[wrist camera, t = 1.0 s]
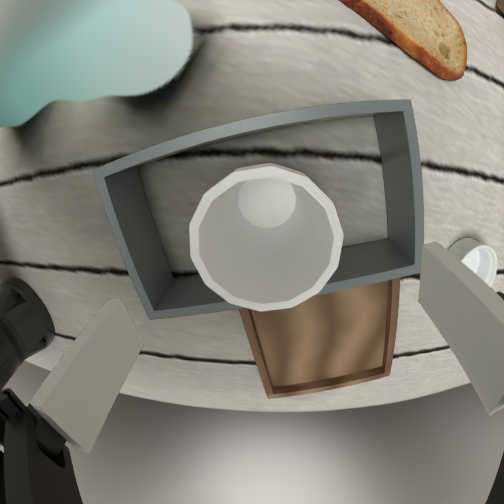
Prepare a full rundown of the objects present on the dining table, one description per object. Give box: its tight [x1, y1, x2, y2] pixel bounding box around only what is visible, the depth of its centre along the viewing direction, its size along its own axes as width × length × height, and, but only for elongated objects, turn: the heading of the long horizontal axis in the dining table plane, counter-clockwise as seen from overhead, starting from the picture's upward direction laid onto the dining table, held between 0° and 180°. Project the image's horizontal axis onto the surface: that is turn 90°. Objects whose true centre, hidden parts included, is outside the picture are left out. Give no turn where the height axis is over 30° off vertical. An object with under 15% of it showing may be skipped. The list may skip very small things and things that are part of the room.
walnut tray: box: [239, 278, 400, 399], centre depth 34 cm, size 19×19×2 cm
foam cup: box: [189, 163, 344, 312], centre depth 22 cm, size 10×9×13 cm
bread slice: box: [339, 0, 467, 81], centre depth 17 cm, size 18×18×4 cm
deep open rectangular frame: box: [93, 100, 424, 320], centre depth 25 cm, size 28×16×7 cm, turn 103°
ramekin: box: [448, 238, 497, 287], centre depth 28 cm, size 9×9×4 cm
